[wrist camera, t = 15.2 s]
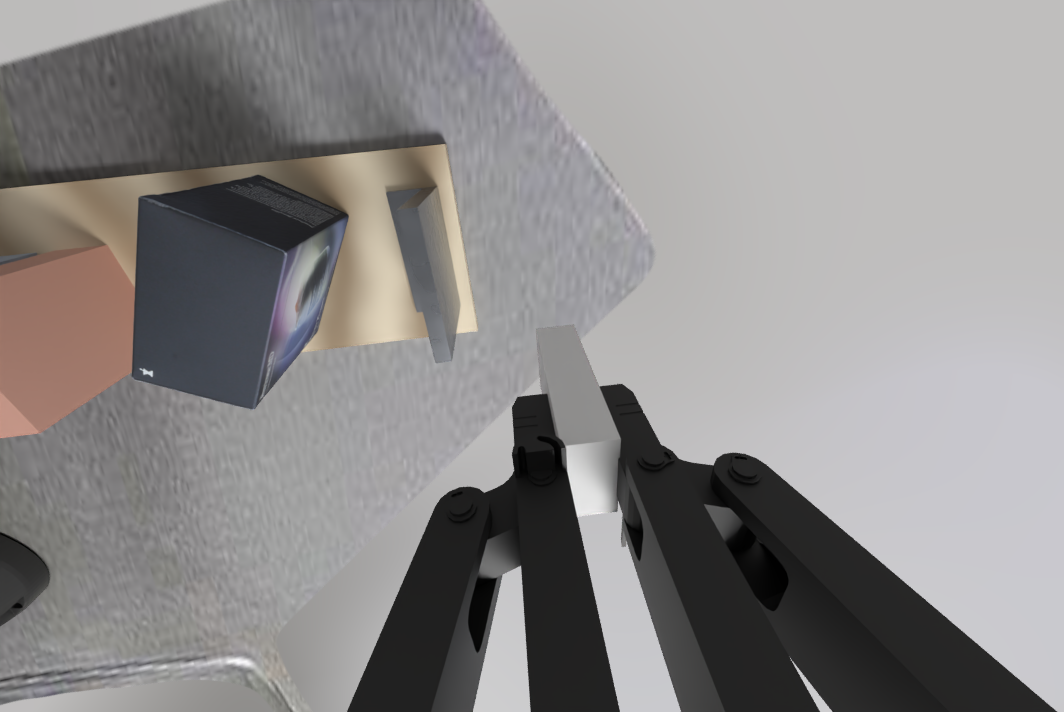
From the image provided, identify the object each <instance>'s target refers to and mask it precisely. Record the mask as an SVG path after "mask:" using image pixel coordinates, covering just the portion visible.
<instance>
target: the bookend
mask: <svg viewBox="0 0 1064 712" xmlns="http://www.w3.org/2000/svg"><path fill="white" fill-rule="evenodd" d="M386 195H387V199H388V203H389V207H390V211H391V215H392V219H393V222H394V226H395V230H396V234H397V238H398V242H399V246H400V249H401V253H402V257H403V261H404V265H405V269H406V273H407V277H408V280H409V284H410V288H411V292H412V296H413V300H414V304H415V307H416V311H417V313H418V312H423V315H424V319H425V323H426V327H427V331H428V335H429V339H430V343H431V347H432V351H433V355H434V359H435V363H441V362H449V361H452V357H453V350H454V344H455V338H456V332H457V326H458V319H459V313H460V307H461V304H460V298H459V293H458V288H457V283H456V278H455V273H454V267H453V262H452V257H451V252H450V247H449V242H448V237H447V231H446V226H445V221H444V216H443V211H442V206H441V200H440V195H439V190H438V186H434V187H425V188H415V189H406V190H396V191H387V192H386Z"/></svg>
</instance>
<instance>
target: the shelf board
mask: <svg viewBox="0 0 1064 712" xmlns="http://www.w3.org/2000/svg"><path fill="white" fill-rule="evenodd" d="M254 175H261V176H264V177H266V178H268V179H270V180H273V181H275V182H277V183H280V184H282V185H284V186H286V187H288V188H291V189H293V190H295V191H298V192H300V193H302V194H305V195H307V196H309V197H311V198H314V199H316V200H318V201H320V202H322V203H325V204H327V205H329V206H331V207H334V208H336V209H338V210H340V211H342V212H344V213H346V214H348V215H349V219H348V222H347V226H346V230H345V234H344V238H343V241H342V245H341V248H340V252H339V256H338V259H337V263H336V267H335V270H334V274H333V277H332V281H331V285H330V288H329V292H328V296H327V299H326V303H325V306H324V310H323V314H322V318H321V321H320V325H319V329H318V332H317V334H316V335H315V336H314V337H313V338H312V339H311V341H310V342H309V343H308V344H307V345H306V347H305V348H304V349H303V350H302V351H301V352H308V351H316V350H325V349H333V348H341V347H349V346H358V345H366V344H374V343H382V342H391V341H399V340H407V339H415V338H424V337H429V335H428V331H427V327H426V323H425V319H424V315H423V312H418V313H417V311H416V307H415V304H414V300H413V296H412V292H411V288H410V284H409V280H408V277H407V273H406V269H405V265H404V261H403V257H402V253H401V249H400V246H399V242H398V238H397V234H396V230H395V226H394V222H393V219H392V215H391V211H390V207H389V203H388V199H387V195H386V192H387V191H396V190H406V189H415V188H425V187H434V186H438V190H439V195H440V200H441V206H442V211H443V216H444V221H445V226H446V231H447V237H448V242H449V247H450V252H451V257H452V262H453V267H454V273H455V278H456V283H457V288H458V293H459V298H460V304H461V307H460V313H459V319H458V326H457V332H456V334H457V333H465V332H473V331H478V322H477V317H476V311H475V305H474V300H473V294H472V288H471V282H470V277H469V271H468V265H467V260H466V254H465V248H464V242H463V237H462V231H461V225H460V219H459V214H458V208H457V202H456V197H455V191H454V185H453V179H452V174H451V168H450V162H449V156H448V151H447V145H446V144H439V145H429V146H419V147H409V148H399V149H390V150H380V151H370V152H360V153H350V154H340V155H330V156H320V157H311V158H301V159H291V160H281V161H271V162H261V163H251V164H242V165H232V166H222V167H212V168H202V169H192V170H182V171H173V172H163V173H153V174H143V175H133V176H123V177H113V178H103V179H94V180H84V181H74V182H64V183H54V184H44V185H34V186H25V187H15V188H5V189H0V256H9V255H18V254H27V253H37V254H38V255H40V254H44V253H48V252H51V251H55V250H64V249H73V248H83V247H92V246H101V245H108V247H109V248H110V250H111V251H112V253H113V254H114V256H115V258H116V259H117V261H118V262H119V264H120V265H121V267H122V269H123V270H124V272H125V273H126V275H127V276H128V278H129V279H130V281H131V283H132V284H133V286H134V287H135V269H136V245H137V219H138V198H139V197H140V196H144V195H152V194H155V195H158V194H163V193H169V192H170V193H172V192H177V191H182V190H189V189H191V188H197V187H201V186H207V185H212V184H218V183H222V182H229V181H232V180H238V179H242V178H247V177H251V176H254ZM131 373H132V372H131Z"/></svg>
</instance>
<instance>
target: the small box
mask: <svg viewBox="0 0 1064 712" xmlns="http://www.w3.org/2000/svg"><path fill="white" fill-rule="evenodd" d="M348 219H349V215H348V214H346V213H344V212H342V211H340V210H338V209H336V208H334V207H331V206H329V205H327V204H325V203H322V202H320V201H318V200H316V199H314V198H311V197H309V196H307V195H305V194H302V193H300V192H298V191H295V190H293V189H291V188H288V187H286V186H284V185H282V184H280V183H277V182H275V181H273V180H270V179H268V178H266V177H264V176H261V175H254V176H251V177H247V178H242V179H238V180H232V181H229V182H222V183H218V184H212V185H207V186H201V187H197V188H191V189H189V190H182V191H177V192H172V193H170V192H169V193H163V194H158V195H155V194H152V195H144V196H140V197H139V198H138V219H137V245H136V269H135V300H134V322H133V352H132V375H131V376H132V378H133V379H134V380H136V381H140V382H144V383H149V384H152V385H157V386H160V387H165V388H168V389H172V390H176V391H179V392H184V393H188V394H191V395H195V396H199V397H203V398H207V399H211V400H215V401H218V402H222V403H226V404H230V405H234V406H238V407H242V408H246V409H250V410H254V409H255V408H256V407H257V405H258V404H259V403H260V401H261V400H262V399H263V397H264V396H265V395H266V394H267V393H268V392H269V390H270V389H271V388H272V387H273V385H274V384H275V383H276V382H277V381H278V379H279V378H280V377H281V376H282V374H283V373H284V372H285V371H286V370H287V368H288V367H289V366H290V365H291V364H292V362H293V361H294V360H295V359H296V357H297V356H298V355H299V354H300V353H301V351H302V350H303V349H304V348H305V347H306V345H307V344H308V343H309V342H310V341H311V339H312V338H313V337H314V336H315V335H316V334H317V332H318V329H319V325H320V321H321V318H322V314H323V310H324V306H325V303H326V299H327V296H328V292H329V288H330V285H331V281H332V277H333V274H334V270H335V267H336V263H337V259H338V256H339V252H340V248H341V245H342V241H343V238H344V234H345V230H346V226H347V222H348Z"/></svg>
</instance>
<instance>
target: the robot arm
mask: <svg viewBox="0 0 1064 712" xmlns="http://www.w3.org/2000/svg"><path fill="white" fill-rule="evenodd" d="M536 336H537V348H538V360H539V372H540V383H541V390H542V394H539V395H530V396H522V397H517V399H516V401H515V403H514V405H513V406H512V414H513V428H514V445H515V446H514V447H513V452H512V458H513V465H514V472H513V475H512V476H511V477H510V478H509V480H508V481H506V482H505V483H504V484H503V485H501V486H499V487H497V488H495V489H493V490H490V491H488V492H485V493H484V492H482V491H481V490H480V489H478V488H474V487H459V488H457V489H455V490H452V491H450V492H448V493H447V494H446V495H444V496H443V497H442V498H441V499H440V500H439V502H438V503H437V505H436V506H435V509H434V511H433V513H432V516H431V518H430V520H429V522H428V525H427V527H426V530H425V532H424V534H423V536H422V539H421V541H420V543H419V546H418V548H417V550H416V553H415V555H414V557H413V560H412V562H411V565H410V567H409V569H408V571H407V574H406V576H405V578H404V581H403V583H402V585H401V587H400V590H399V592H398V595H397V597H396V599H395V601H394V604H393V606H392V608H391V611H390V613H389V615H388V618H387V620H386V622H385V625H384V627H383V629H382V632H381V634H380V637H379V639H378V641H377V643H376V646H375V648H374V650H373V653H372V655H371V657H370V660H369V662H368V664H367V666H366V669H365V671H364V673H363V676H362V678H361V681H360V683H359V685H358V687H357V690H356V692H355V694H354V697H353V699H352V702H351V704H350V706H349V708H348V711H347V712H473V708H474V703H475V699H476V694H477V689H478V685H479V680H480V675H481V671H482V666H483V662H484V657H485V653H486V648H487V644H488V638H489V634H490V630H491V625H492V621H493V615H494V611H495V606H496V602H497V597H498V593H499V588H500V584H501V579H502V574H504V573H506V572H508V571H510V570H513V569H515V568H517V567H518V566H521V569H522V585H523V601H524V615H525V630H526V646H527V661H528V676H529V691H530V707H531V712H620V710H619V706H618V701H617V696H616V692H615V687H614V683H613V678H612V674H611V669H610V664H609V660H608V655H607V651H606V646H605V642H604V637H603V632H602V628H601V623H600V619H599V614H598V610H597V605H596V600H595V596H594V592H593V587H592V582H591V578H590V573H589V568H588V564H587V559H586V555H585V550H584V546H583V541H582V536H581V532H580V528H579V523H578V518H577V517H578V516H586V515H594V514H602V513H609V512H617V509H618V501H619V504H620V507H621V510H622V513H623V517H622V518H623V519H622V533H621V543H622V547H624V546H626V541H627V544H628V547H629V550H630V553H631V556H632V559H633V562H634V566H635V569H636V572H637V575H638V578H639V581H640V584H641V587H642V590H643V594H644V597H645V600H646V603H647V606H648V609H649V612H650V615H651V619H652V622H653V625H654V628H655V631H656V634H657V637H658V640H659V644H660V647H661V650H662V653H663V656H664V659H665V662H666V665H667V668H668V671H669V675H670V678H671V681H672V684H673V687H674V690H675V693H676V697H677V700H678V703H679V706H680V709H681V712H820V711H819V709H818V707H817V706H816V704H815V702H814V700H813V699H812V697H811V695H810V693H809V691H808V690H807V688H806V686H805V684H804V682H803V681H802V679H801V677H800V675H799V674H798V672H797V670H796V668H795V667H794V665H793V663H792V661H793V662H794V663H795V664H796V666H797V667H798V668H799V670H800V671H801V672H802V673H803V675H804V676H805V677H806V678H807V680H808V681H809V682H810V683H811V685H812V686H813V687H814V689H815V690H816V691H817V692H818V694H819V695H820V696H821V698H822V699H823V700H824V701H825V703H826V704H827V705H828V706H829V708H830V709H831V710H832V712H1057V711H1055V710H1054V709H1053V708H1052V707H1051V706H1049V705H1048V704H1047V703H1046V702H1045V701H1044V700H1042V699H1041V698H1040V697H1039V696H1038V695H1037V694H1035V693H1034V692H1033V691H1032V690H1031V689H1030V688H1028V687H1027V686H1026V685H1025V684H1024V683H1022V682H1021V681H1020V680H1019V679H1018V678H1017V677H1015V676H1014V675H1013V674H1012V673H1011V672H1009V671H1008V670H1007V669H1006V668H1005V667H1004V666H1002V665H1001V664H1000V663H999V662H998V661H997V660H995V659H994V658H993V657H992V656H991V655H989V654H988V653H987V652H986V651H985V650H984V649H982V648H981V647H980V646H979V645H978V644H977V643H975V642H974V641H973V640H972V639H971V638H969V637H968V636H967V635H966V634H965V633H963V632H962V631H961V630H960V629H959V628H958V627H956V626H955V625H954V624H953V623H952V622H951V621H949V620H948V619H947V618H946V617H945V616H943V615H942V614H941V613H940V612H939V611H938V610H937V609H935V608H934V607H933V606H932V605H930V604H929V603H928V602H927V601H926V600H925V599H924V598H922V597H921V596H920V595H919V594H918V593H916V592H915V591H914V590H913V589H912V588H911V587H909V586H908V585H907V584H906V583H905V582H904V581H902V580H901V579H900V578H899V577H898V576H896V575H895V574H894V573H893V572H892V571H890V570H889V569H888V568H887V567H886V566H885V565H884V564H882V563H881V562H880V561H879V560H878V559H876V558H875V557H874V556H873V555H871V553H869V552H868V551H867V550H866V549H865V548H863V547H862V546H861V545H860V544H859V543H858V542H856V541H855V540H854V539H853V538H852V537H850V536H849V535H848V534H847V533H846V532H845V531H843V530H842V529H841V528H840V527H839V526H838V525H836V524H835V523H834V522H833V521H832V520H830V519H829V518H828V517H827V516H826V515H825V514H823V513H822V512H821V511H820V510H819V509H818V508H816V507H815V506H814V505H813V504H812V503H810V502H809V501H808V500H807V499H806V498H805V497H803V496H802V495H801V494H800V493H798V491H796V490H795V489H794V488H793V487H792V486H790V485H789V484H788V483H787V482H786V481H785V480H783V479H782V478H781V477H780V476H779V475H777V474H776V473H775V472H774V471H773V470H772V469H770V468H769V467H768V466H767V465H766V464H764V463H763V462H761V461H759V460H758V459H756V458H754V457H751V456H749V455H746V454H740V453H728V454H723V455H722V456H720V457H719V458H717V459H716V461H715V463H714V466H713V465H705V464H697V463H691V462H687V461H683V460H680V459H678V458H677V456H676V455H675V454H674V453H673V451H671V450H669V449H667V448H666V447H665V446H662V445H661V444H660V442H659V440H658V438H657V437H656V435H655V433H654V431H653V429H652V427H651V425H650V424H649V421H648V420H647V418H646V416H645V414H644V413H643V410H642V408H641V406H640V405H639V404H638V401H637V399H636V397H635V395H634V393H633V392H632V391H631V390H629V389H628V388H627V387H625V386H624V385H623V384H617V385H609V386H600V387H599V385H598V382H597V380H596V377H595V375H594V373H593V370H592V368H591V365H590V363H589V360H588V358H587V356H586V353H585V351H584V348H583V346H582V343H581V341H580V339H579V336H578V334H577V331H576V329H575V326H574V325H565V326H556V327H547V328H538V329H536ZM49 579H50V577H49V572H48V570H47V568H46V566H45V565H44V563H43V562H42V561H41V560H40V559H39V558H38V557H37V556H36V555H35V554H34V553H32V552H31V551H30V550H28V549H27V548H25V547H24V546H22V545H20V544H19V543H17V542H15V541H13V540H11V539H9V538H7V537H5V536H2V535H0V626H1V625H3V624H4V623H6V622H7V621H9V620H10V619H12V618H13V617H15V616H16V615H18V614H19V613H21V612H22V611H23V610H24V609H26V608H27V607H28V606H29V605H30V604H31V603H32V602H33V601H34V600H35V599H36V598H37V597H38V596H39V595H40V594H41V593H42V592H43V591H44V590H45V589H46V587H47V586H48V584H49ZM790 658H791V659H792V661H791V659H790Z"/></svg>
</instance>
